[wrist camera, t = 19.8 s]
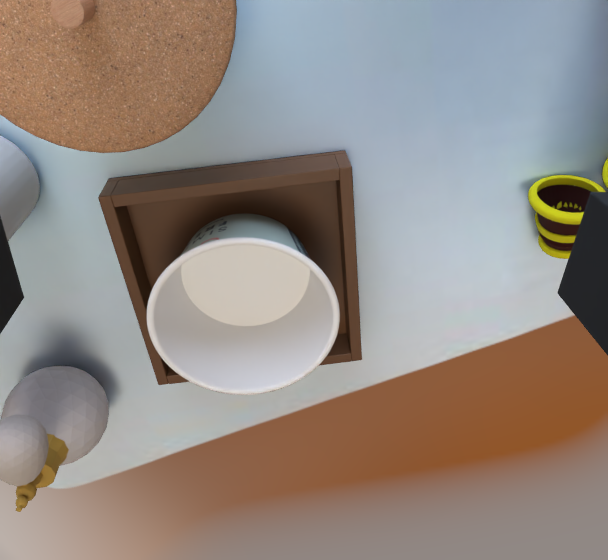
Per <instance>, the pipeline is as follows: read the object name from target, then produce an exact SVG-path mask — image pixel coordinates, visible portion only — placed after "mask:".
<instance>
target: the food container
mask: <svg viewBox="0 0 608 560" xmlns="http://www.w3.org/2000/svg"><path fill="white" fill-rule="evenodd" d="M339 322H340V310H339V303H338V299H337V296H336V293H335V290H334V288H333V286H332V284H331V282H330V281H329V279H328V278H327V276H326V275H325V274H324V272H323V271H322V270H321V269H320V268H319V267H318V266H317V265H316V264H315V263H314V262H313V261H312V260H311V258H310V257H309V255H308V253H307V251H306V249H305V248H304V246H303V244H302V242H301V241H300V240H299V238H298V237H297V236H296V235H295V234H294V233H293V232H292V231H291V230H290V229H289V228H288V227H286V226H285V225H283V224H282V223H280V222H278V221H276V220H274V219H271V218H269V217H265V216H262V215H256V214H233V215H228V216H224V217H221V218H219V219H216V220H214V221H212V222H210V223H208V224H207V225H205V226H204V227H203V228H201V229H200V230H199V231H198V232H197V233H196V234H195V235H194V236H193V237H192V239H191V240H190V242H189V243H188V245H187V246H186V248H185V249H184V251H183V252H182V254H181V255H180V257H178V258H177V259H175V260H174V261H173V262H172V263H171V264H170V265H169V266H168V267H167V268H166V269H165V270H164V271H163V272H162V274H161V275H160V276H159V278H158V279H157V281H156V283H155V285H154V286H153V289H152V291H151V293H150V297H149V300H148V305H147V326H148V331H149V335H150V338H151V341H152V343H153V345H154V347H155V349H156V350H157V352H158V354H159V355H160V356H161V358H162V359H163V360H164V361H165V363H166V364H167V365H168V366H169V367H170V368H171V369H173V370H174V371H175V372H176V373H177V374H179V375H180V376H182V377H183V378H185V379H186V380H188V381H190V382H192V383H194V384H196V385H198V386H201V387H203V388H206V389H209V390H212V391H216V392H221V393H227V394H237V395H248V394H260V393H266V392H271V391H275V390H278V389H281V388H284V387H286V386H289V385H291V384H293V383H295V382H297V381H299V380H300V379H302V378H304V377H305V376H307V375H308V374H309V373H311V372H312V371H313V370H314V369H315V368H317V366H318V365H319V364H320V363H321V362H322V361H323V360H324V359H325V357H326V356H327V355H328V353H329V352H330V350H331V348H332V346H333V344H334V342H335V339H336V337H337V333H338V329H339Z"/></svg>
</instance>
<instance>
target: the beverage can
mask: <svg viewBox="0 0 608 560" xmlns="http://www.w3.org/2000/svg"><path fill="white" fill-rule="evenodd" d="M39 191H40V187H39V179H38V176H37V173H36V170H35V168H34V166H33V164H32V163H31V161H30V160H29V158H28V157H27V156H26V155H25V153H24V152H23V151H22V150H21V149H20V148H18V147H17V146H16V145H15V144H13V143H12V142H11V141H9V140H7V139H6V138H4V137H2V136H0V216H1V219H2V223H3V226H4V230H5V233H6V237H7V240H8V241H9V239H10V238H11V237H12V236H13V234H14V233H15V232H16V231H17V229H18V228H19V227H20V226H21V224H22V223H23V222H24V221H25V219H26V218H27V217H28V216H29V214H30V213H31V212H32V211H33V209H34V208H35V205H36V203H37V201H38V198H39Z"/></svg>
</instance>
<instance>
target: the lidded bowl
mask: <svg viewBox="0 0 608 560" xmlns="http://www.w3.org/2000/svg"><path fill="white" fill-rule="evenodd" d="M236 15H237V8H236V0H0V114H1V115H2V116H3V117H5V118H6V119H8V120H9V121H10V122H12V123H13V124H15V125H16V126H18V127H20V128H22V129H24V130H25V131H27V132H29V133H31V134H33V135H35V136H36V137H39V138H41V139H44V140H47V141H49V142H52V143H54V144H57V145H60V146H64V147H68V148H72V149H76V150H80V151H89V152H99V153H111V152H126V151H131V150H136V149H141V148H145V147H148V146H150V145H153V144H156V143H158V142H161V141H163V140H165V139H167V138H169V137H170V136H172V135H174V134H176V133H177V132H179V131H181V130H182V129H183V128H184V127H185V126H187V125H188V124H189V123H190V122H191V121H193V120H194V119H195V118H196V117H197V116H198V115H199V114H200V113H201V111H202V110H203V109H204V108H205V107H206V106H207V104H208V103H209V102H210V101H211V99H212V97H213V96H214V94H215V92H216V91H217V89H218V87H219V86H220V84H221V82H222V79H223V77H224V74H225V72H226V69H227V67H228V64H229V61H230V57H231V53H232V48H233V44H234V39H235V30H236Z"/></svg>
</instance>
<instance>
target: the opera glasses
mask: <svg viewBox="0 0 608 560" xmlns="http://www.w3.org/2000/svg"><path fill="white" fill-rule="evenodd" d="M602 177H603V182H604V184H605V186H606V187H607V189H608V158H607V160H606V161H605V164H604V166H603V171H602ZM589 190H590V191H589ZM590 192H606V191H605V190H604V189H603V188H602V187H601V186H600V185H598V184H597V183H595V182H593V181H591V180H588V179H586V178H582V177H577V176H572V175H556V176H549V177H546V178H543V179H541V180H539V181H537V182H535V183H534V184H533V185H532V186H531V188H530V190H529V192H528V200H529V202H530V204H531V206H532V207H533V209H534V210H535V211H536V214H535V221H536V225H537V228H538V230H539V237H538V243H539V246H540V247H541V249H542V250H543V251H544V252H545V253H546V254H548V255H550V256H552V257H556V258H563V259H569V256H570V253H571V250H572V247H573V244H574V241H575V238H576V235H577V232H578V229H579V226H580V223H581V220H582V217H583V213H584V210H585V207H586V204H587V201H588V198H589V195H590Z"/></svg>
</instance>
